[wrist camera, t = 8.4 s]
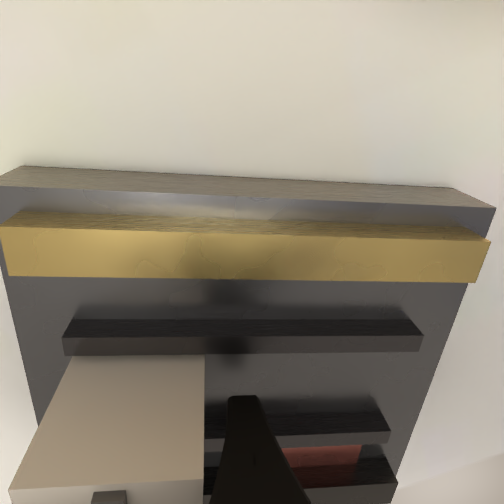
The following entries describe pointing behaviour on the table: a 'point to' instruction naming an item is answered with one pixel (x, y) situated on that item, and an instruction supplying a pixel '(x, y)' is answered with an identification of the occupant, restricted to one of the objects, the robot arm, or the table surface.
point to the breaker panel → (250, 300)
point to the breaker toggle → (119, 434)
